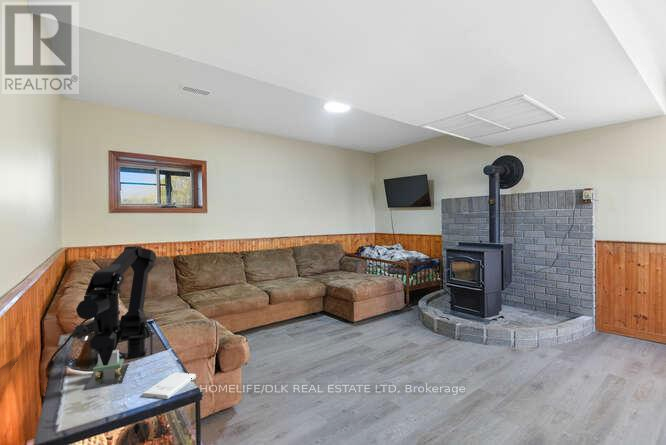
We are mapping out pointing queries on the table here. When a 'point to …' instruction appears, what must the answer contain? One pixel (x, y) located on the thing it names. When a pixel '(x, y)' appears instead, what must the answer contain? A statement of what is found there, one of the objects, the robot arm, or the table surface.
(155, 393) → the external hard drive
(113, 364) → the green u-channel holder
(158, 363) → the table surface
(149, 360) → the table surface
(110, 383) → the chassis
